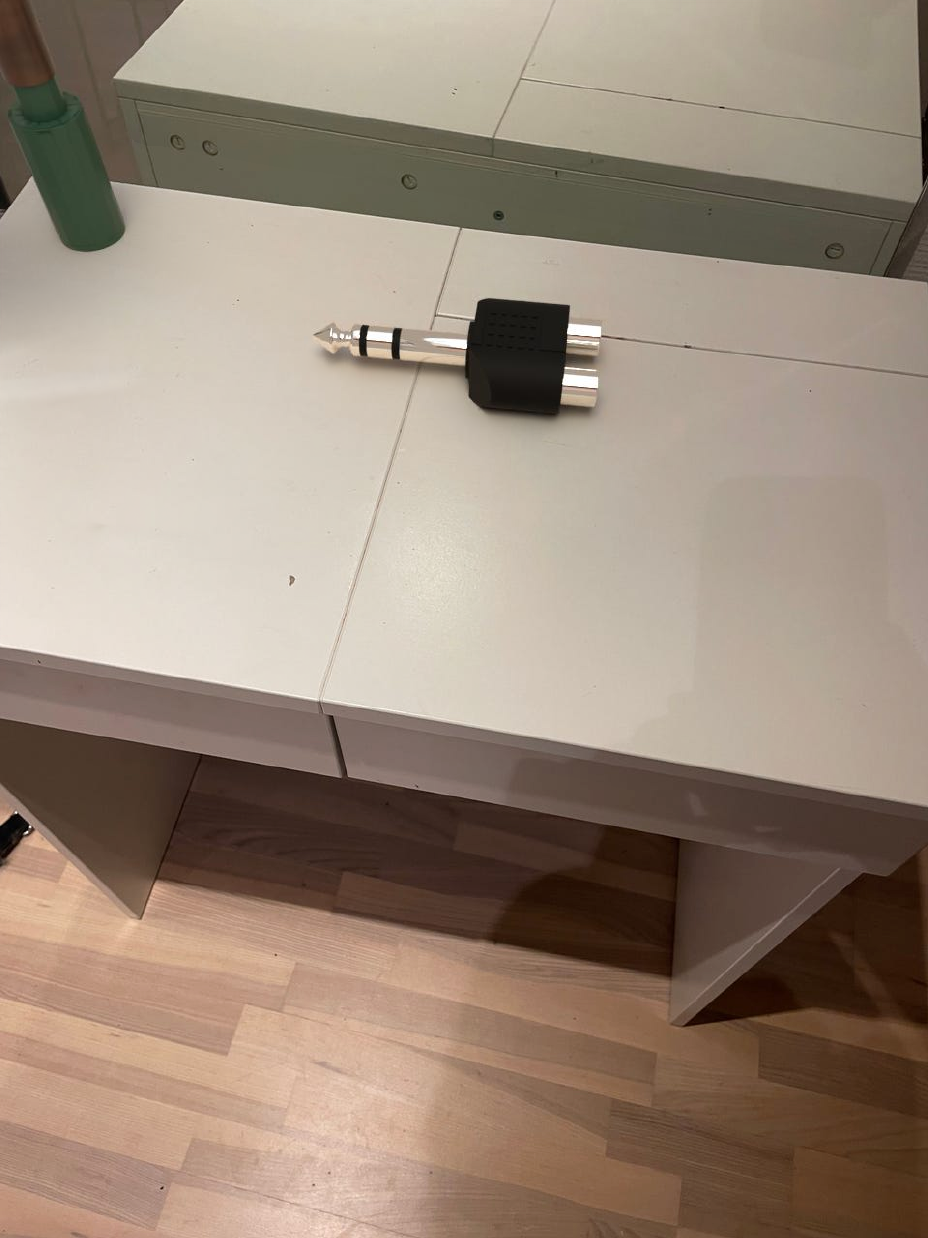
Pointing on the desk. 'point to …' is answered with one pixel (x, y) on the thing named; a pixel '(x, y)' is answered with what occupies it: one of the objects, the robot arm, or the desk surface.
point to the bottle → (66, 165)
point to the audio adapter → (495, 353)
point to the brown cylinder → (23, 46)
